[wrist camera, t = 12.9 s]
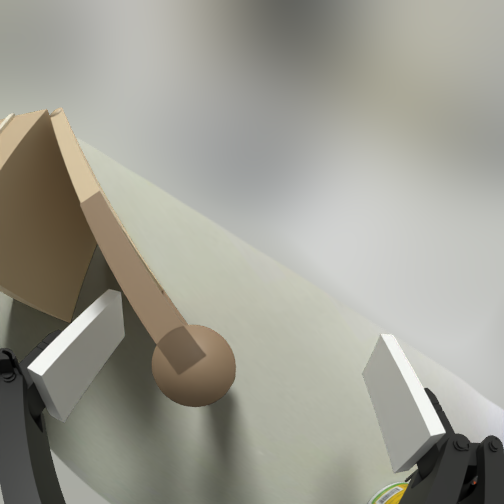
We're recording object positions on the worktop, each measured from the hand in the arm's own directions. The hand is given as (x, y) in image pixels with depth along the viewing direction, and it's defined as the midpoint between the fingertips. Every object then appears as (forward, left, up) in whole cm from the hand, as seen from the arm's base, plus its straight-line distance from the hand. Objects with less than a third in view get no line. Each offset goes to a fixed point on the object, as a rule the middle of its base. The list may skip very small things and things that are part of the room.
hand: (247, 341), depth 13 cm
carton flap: (-8, -3, -8) cm, 12 cm away
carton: (-17, -11, -9) cm, 22 cm away
